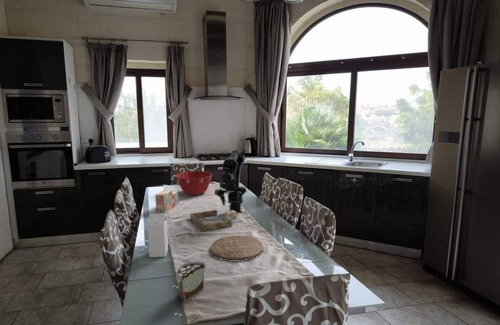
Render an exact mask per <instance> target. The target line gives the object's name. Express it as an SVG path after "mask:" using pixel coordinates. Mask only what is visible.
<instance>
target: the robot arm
mask: <svg viewBox="0 0 500 325" xmlns="http://www.w3.org/2000/svg"><path fill="white" fill-rule="evenodd" d="M245 159H246V157H245V154H244V153H243V152H241V151H240V150H232V151H231V153H230V155H229V157H226V158H225V159H224V161H223V164H222V169H221V170H222V172H224V173H223V174H222V176H221V181H222V182H219V188H218V189H215V190H214V195H216V196H217V197H219V198H220V200H221V203H222V206H223V207H224V206H225V205H226V201H225V199H226V198H225V197H226V195H225V194H227V201H228V203H227V204H229V207H228V208H229V210H228V211H230V210H234V211H235V212H236V214H238V213H242V212H243V211H242V210H241V209H242V208H241V206H242V205H241V204H242V203H244V200H243V196H244V195H245V194H246V193H247V187H244V186H240V181H241V180H240V179H241V172H242V171H241V168H242V167H243V166H244V163H245V162H246V160H245Z"/></svg>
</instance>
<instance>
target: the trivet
mask: <svg viewBox="0 0 500 325" xmlns="http://www.w3.org/2000/svg"><path fill="white" fill-rule="evenodd" d="M211 252H212V253H211ZM263 252H264V244H263V242H262V241H261V240H259V239H257V238H255V237H252V236H248V235H247V236H246V235H229V236H224V237H221V238H218V239H216V240H214V241H213V242H212V243H211V245H210V253H211V254H212V256H213V257H215V256H216V257H215V258H217V257H218V258H217V259H219V258H222V259H227V260H245V259H250V258H253V257H255V258H257V257H259V256H261V255H260V254H263ZM258 255H259V256H258ZM256 256H257V257H256ZM222 259H221V260H222ZM253 259H254V258H253ZM227 260H226V261H227ZM250 260H251V259H250ZM245 261H246V260H245Z"/></svg>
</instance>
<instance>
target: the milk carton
mask: <svg viewBox="0 0 500 325" xmlns="http://www.w3.org/2000/svg"><path fill="white" fill-rule="evenodd" d="M168 234H169V233H168V219H167V217H166V213H153V214H151V213H150V214H148V221H147V236H148V252H149V253H148V255H149V258H162V257H163V258H165V257H166V256H167V253H168V252H169V241H168V240H169V238H168V236H169V235H168Z"/></svg>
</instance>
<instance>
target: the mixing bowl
mask: <svg viewBox="0 0 500 325" xmlns="http://www.w3.org/2000/svg"><path fill="white" fill-rule="evenodd" d="M175 176H176V179H177V183H178V184H179V186H180V188H181V190H182V192H183V193H185V194H186V195H188V194H189V196H197V195H198V194H200V195H203V194H204V193H206V191H207V190H208V189H209V186H210V184H211V180H212V177H213V173H212V172H209V171H201V170H194V171H192V170H191V171H184V172H180V173H178V174H176V175H175ZM202 193H203V194H202ZM198 196H199V195H198Z"/></svg>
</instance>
